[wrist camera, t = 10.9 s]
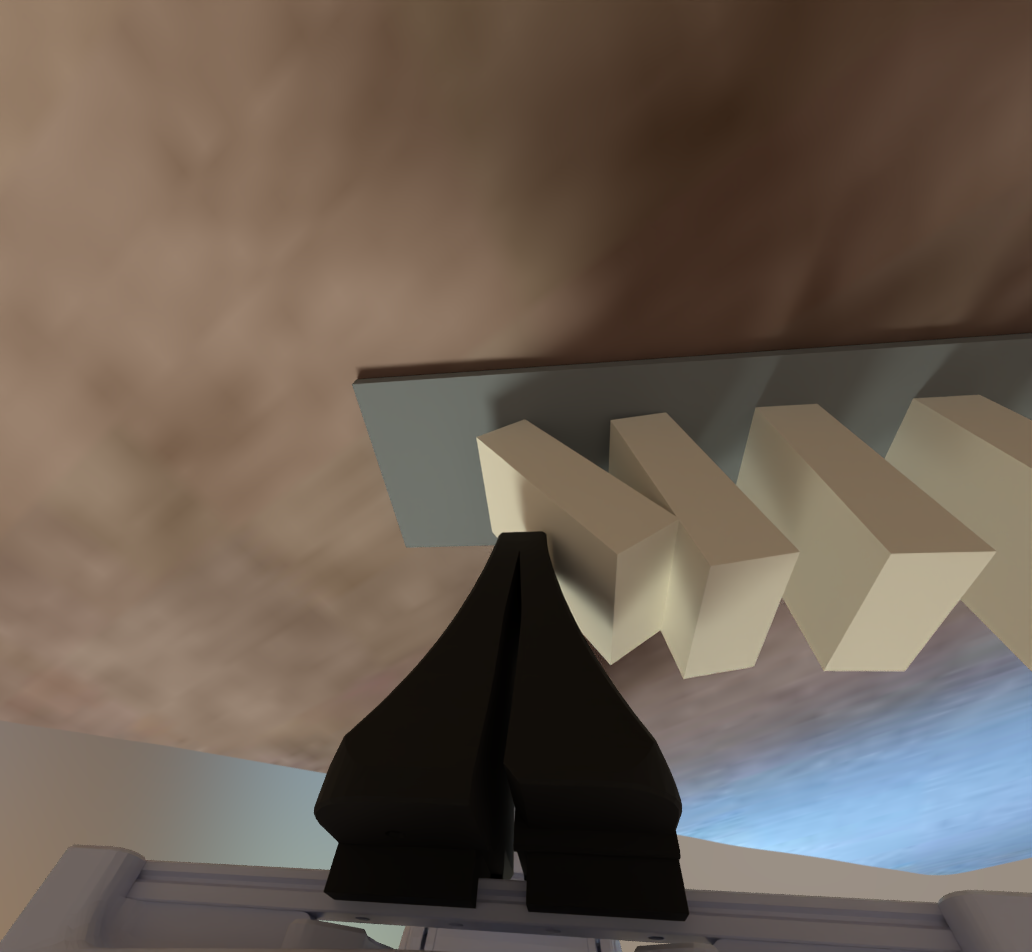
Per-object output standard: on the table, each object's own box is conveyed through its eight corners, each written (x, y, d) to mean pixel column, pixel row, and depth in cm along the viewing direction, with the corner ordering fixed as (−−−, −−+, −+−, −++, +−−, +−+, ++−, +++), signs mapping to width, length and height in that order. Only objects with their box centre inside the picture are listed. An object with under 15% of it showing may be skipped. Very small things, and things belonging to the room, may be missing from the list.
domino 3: (782, 504, 17) (905, 670, 11) (730, 506, 17) (823, 670, 11) (817, 403, 14) (996, 551, 9) (755, 407, 15) (891, 553, 9)
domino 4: (919, 499, 16) (1120, 671, 11) (863, 501, 17) (1031, 671, 11) (979, 394, 14) (1285, 545, 8) (913, 398, 14) (1165, 547, 8)
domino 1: (533, 512, 18) (661, 629, 13) (492, 531, 17) (610, 665, 12) (525, 419, 15) (679, 518, 10) (476, 437, 15) (617, 554, 9)
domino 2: (654, 509, 17) (753, 666, 12) (606, 516, 17) (683, 678, 12) (666, 412, 15) (800, 551, 9) (610, 420, 15) (710, 566, 9)
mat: (1137, 520, 17) (1150, 527, 16) (408, 540, 20) (406, 547, 19) (1340, 311, 12) (1365, 315, 12) (356, 379, 15) (352, 384, 15)
